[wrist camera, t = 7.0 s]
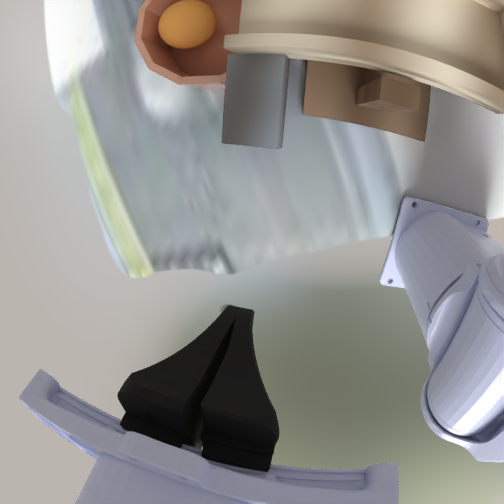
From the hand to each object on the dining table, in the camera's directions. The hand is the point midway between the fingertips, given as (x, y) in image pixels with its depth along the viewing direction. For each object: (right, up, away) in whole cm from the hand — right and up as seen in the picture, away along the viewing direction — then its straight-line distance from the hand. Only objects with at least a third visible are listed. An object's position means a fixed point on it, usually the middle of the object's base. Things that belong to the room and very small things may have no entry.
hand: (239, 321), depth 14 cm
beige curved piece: (+8, +14, -2) cm, 17 cm away
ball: (-4, +19, -1) cm, 19 cm away
